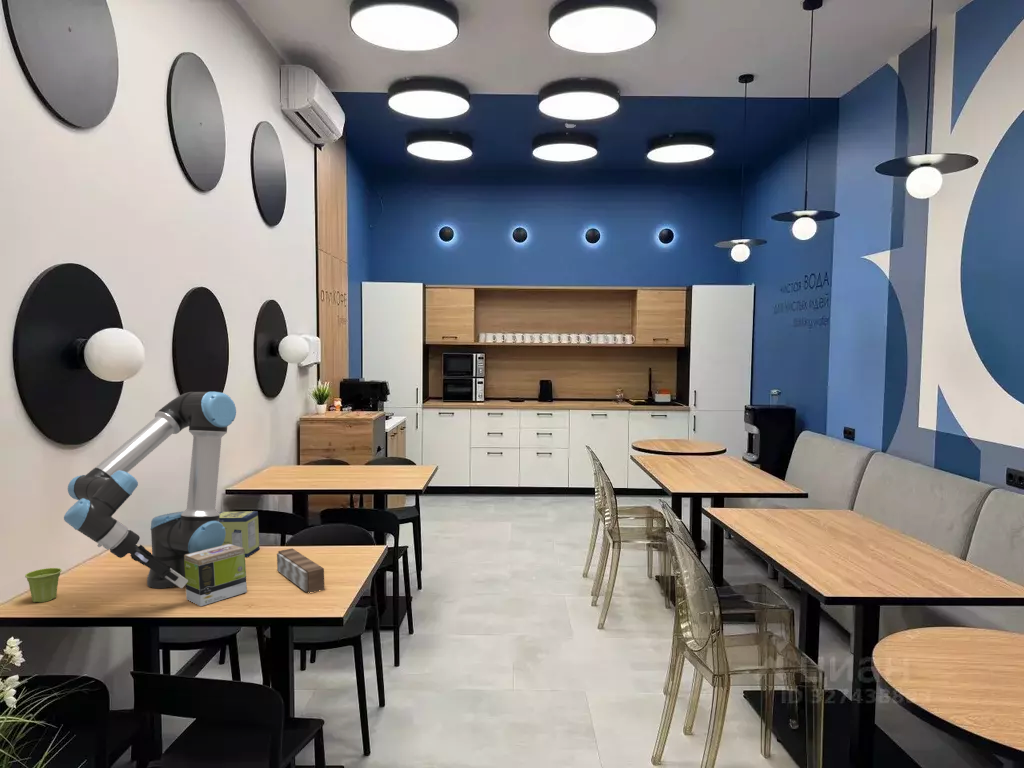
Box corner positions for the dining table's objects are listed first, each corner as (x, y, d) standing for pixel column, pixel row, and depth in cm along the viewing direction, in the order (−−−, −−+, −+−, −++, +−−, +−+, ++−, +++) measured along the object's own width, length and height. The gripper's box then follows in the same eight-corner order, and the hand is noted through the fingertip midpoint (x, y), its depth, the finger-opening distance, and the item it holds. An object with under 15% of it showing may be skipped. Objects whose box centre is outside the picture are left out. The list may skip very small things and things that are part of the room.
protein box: (221, 550, 253) (220, 511, 253) (260, 549, 253) (258, 510, 252) (208, 558, 243) (206, 517, 242) (248, 557, 242) (247, 517, 242)
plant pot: (60, 591, 208) (59, 565, 208) (65, 599, 201) (64, 572, 201) (24, 599, 202) (23, 572, 202) (28, 607, 195) (27, 579, 195)
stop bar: (276, 571, 225) (275, 551, 225) (292, 567, 229) (292, 548, 229) (306, 594, 202) (306, 572, 201) (324, 589, 205) (323, 568, 205)
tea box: (232, 586, 210) (230, 542, 210) (247, 593, 204) (245, 547, 203) (185, 600, 198) (183, 553, 198) (199, 607, 192) (198, 559, 192)
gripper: (106, 545, 188) (171, 588, 198) (110, 555, 177) (179, 600, 188) (126, 524, 191) (189, 568, 201) (132, 533, 180) (198, 579, 191)
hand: (184, 584), depth 195 cm, fingers closed
